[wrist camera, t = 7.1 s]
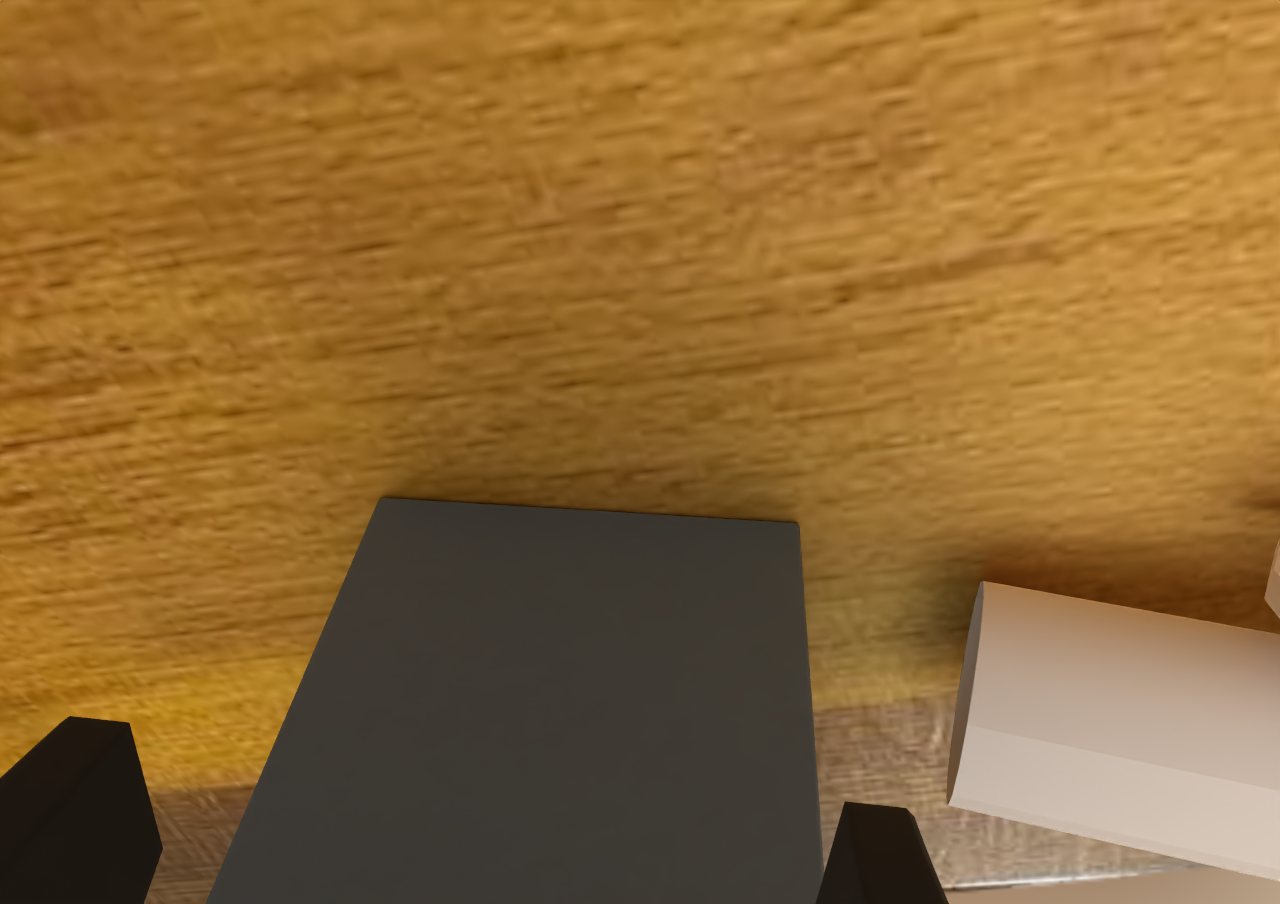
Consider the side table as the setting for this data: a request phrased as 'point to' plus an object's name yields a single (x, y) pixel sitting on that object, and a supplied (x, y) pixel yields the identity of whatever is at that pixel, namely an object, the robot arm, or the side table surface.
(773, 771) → the stand
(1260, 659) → the toilet paper hanger
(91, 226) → the side table surface
